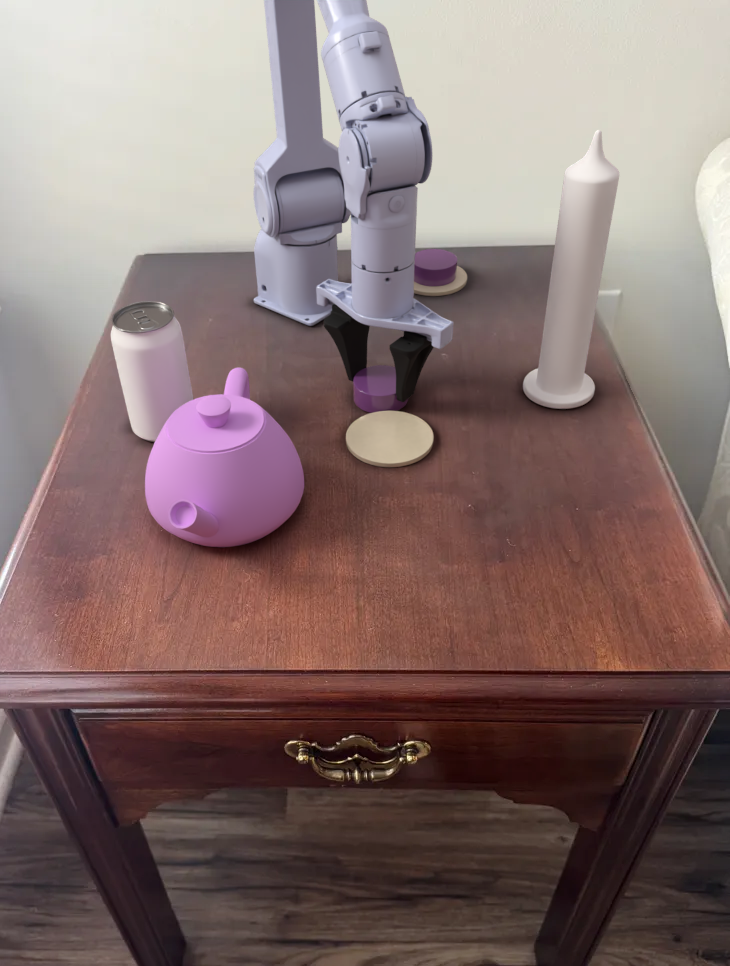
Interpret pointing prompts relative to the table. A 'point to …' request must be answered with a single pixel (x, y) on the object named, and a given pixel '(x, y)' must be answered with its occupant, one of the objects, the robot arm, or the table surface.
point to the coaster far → (445, 289)
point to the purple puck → (376, 389)
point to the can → (150, 364)
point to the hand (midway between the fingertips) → (381, 386)
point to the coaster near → (389, 438)
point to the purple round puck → (435, 267)
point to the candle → (575, 281)
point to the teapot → (223, 470)
